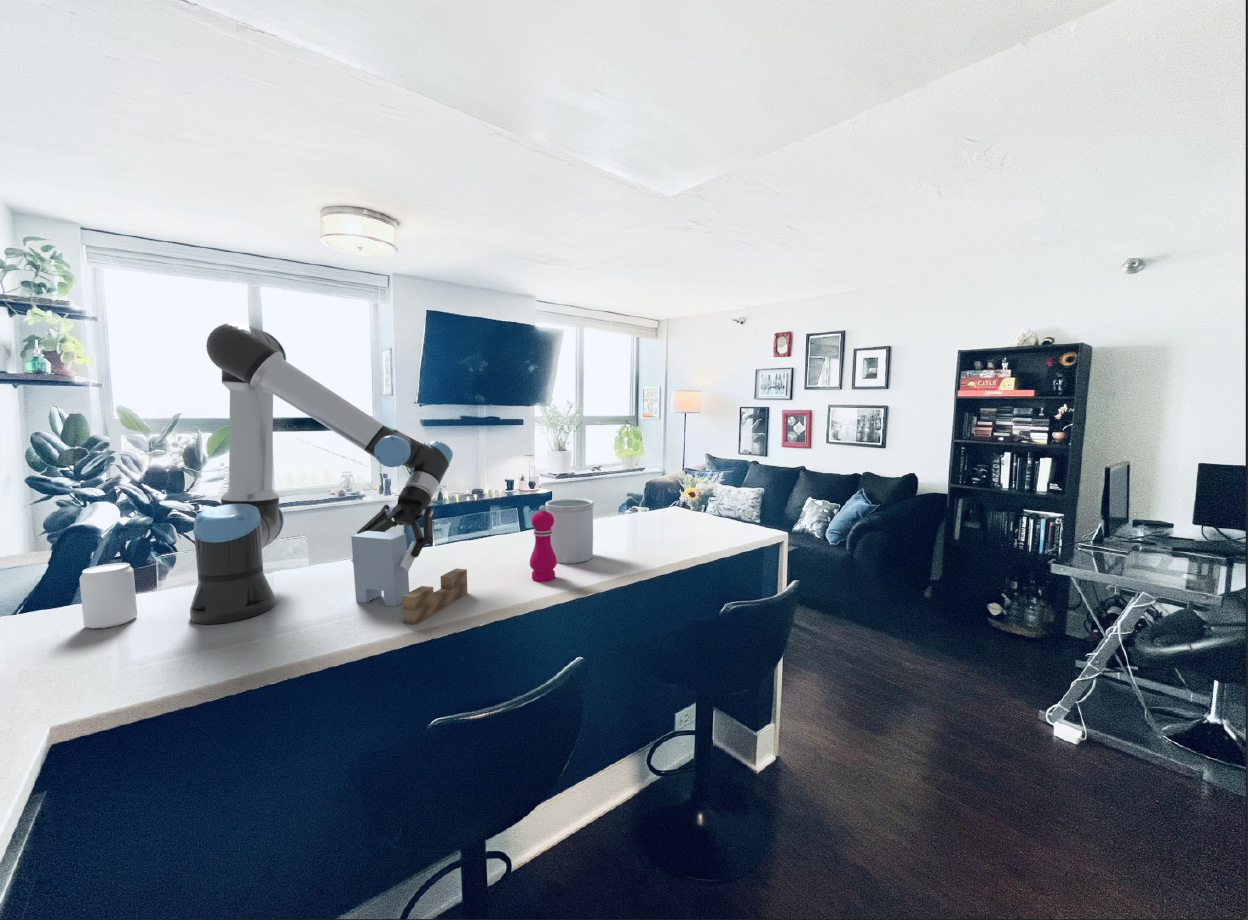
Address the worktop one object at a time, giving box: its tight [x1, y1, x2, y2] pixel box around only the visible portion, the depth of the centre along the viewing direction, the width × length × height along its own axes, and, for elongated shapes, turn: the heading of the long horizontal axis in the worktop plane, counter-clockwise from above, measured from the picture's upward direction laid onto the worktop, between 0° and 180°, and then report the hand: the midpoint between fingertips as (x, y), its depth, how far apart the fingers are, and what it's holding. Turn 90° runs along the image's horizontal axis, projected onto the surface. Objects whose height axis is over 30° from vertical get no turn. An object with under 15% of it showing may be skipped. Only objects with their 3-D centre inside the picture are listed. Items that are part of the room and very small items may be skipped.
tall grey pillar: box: [350, 531, 410, 607], centre depth 123 cm, size 11×5×16 cm, turn 75°
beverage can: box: [79, 562, 138, 629], centre depth 110 cm, size 8×8×12 cm
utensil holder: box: [544, 497, 594, 564], centre depth 160 cm, size 15×15×18 cm
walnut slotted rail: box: [402, 567, 468, 625], centre depth 119 cm, size 20×3×6 cm, turn 165°
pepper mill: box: [529, 505, 558, 582], centre depth 140 cm, size 7×7×20 cm
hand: (379, 566), depth 122 cm, fingers open, 13 cm apart
